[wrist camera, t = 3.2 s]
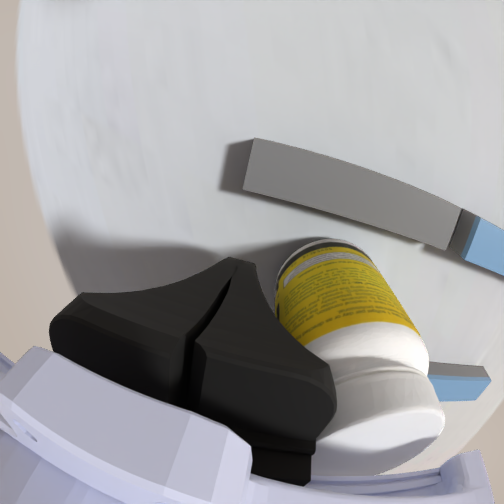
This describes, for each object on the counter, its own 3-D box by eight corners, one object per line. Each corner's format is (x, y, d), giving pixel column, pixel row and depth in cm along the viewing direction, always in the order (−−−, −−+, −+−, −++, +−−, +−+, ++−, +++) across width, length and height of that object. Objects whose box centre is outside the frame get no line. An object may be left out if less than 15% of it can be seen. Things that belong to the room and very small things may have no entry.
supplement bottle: (254, 267, 12) (230, 446, 5) (352, 216, 11) (462, 358, 4) (302, 340, 14) (315, 496, 6) (386, 300, 13) (457, 443, 5)
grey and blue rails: (468, 385, 14) (475, 400, 13) (213, 346, 15) (206, 366, 14) (544, 255, 10) (558, 265, 8) (258, 138, 11) (252, 137, 9)
